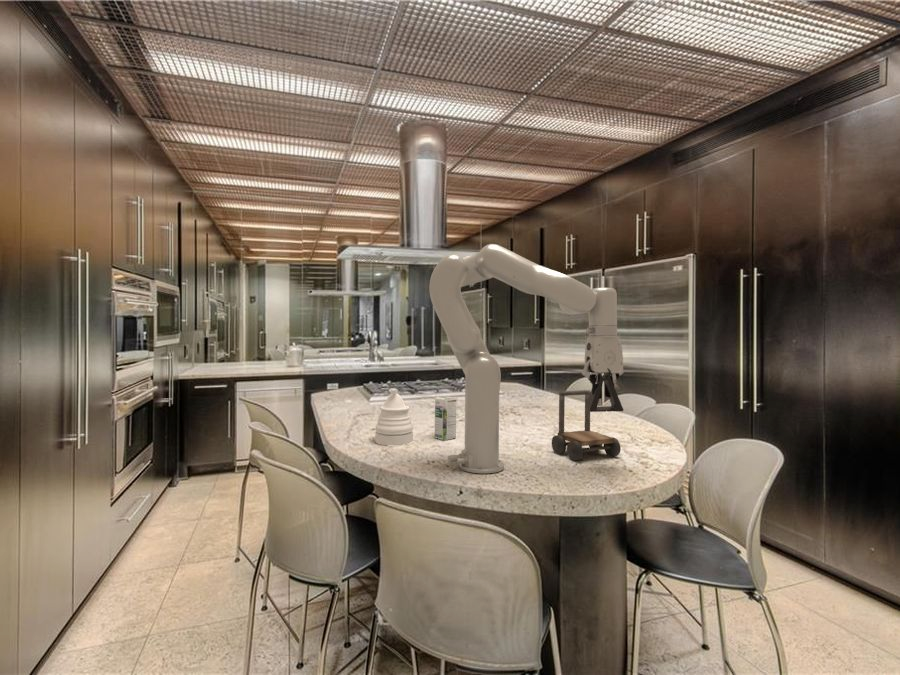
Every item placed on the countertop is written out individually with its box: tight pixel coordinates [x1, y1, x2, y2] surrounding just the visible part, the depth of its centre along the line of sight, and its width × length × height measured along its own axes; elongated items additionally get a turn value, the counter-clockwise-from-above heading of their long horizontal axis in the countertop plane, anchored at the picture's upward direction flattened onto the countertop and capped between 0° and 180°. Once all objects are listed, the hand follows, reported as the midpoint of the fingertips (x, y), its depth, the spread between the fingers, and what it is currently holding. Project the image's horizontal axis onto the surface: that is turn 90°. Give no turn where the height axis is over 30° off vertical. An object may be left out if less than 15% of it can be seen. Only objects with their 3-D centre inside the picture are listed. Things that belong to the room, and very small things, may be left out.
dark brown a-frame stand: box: [586, 369, 624, 413], centre depth 129 cm, size 9×6×12 cm, turn 83°
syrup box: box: [433, 396, 458, 441], centre depth 163 cm, size 6×6×14 cm
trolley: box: [551, 389, 621, 462], centre depth 142 cm, size 15×14×19 cm
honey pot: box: [374, 388, 414, 446], centre depth 158 cm, size 13×13×18 cm
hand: (603, 397), depth 129 cm, fingers closed on dark brown a-frame stand, 3 cm apart
